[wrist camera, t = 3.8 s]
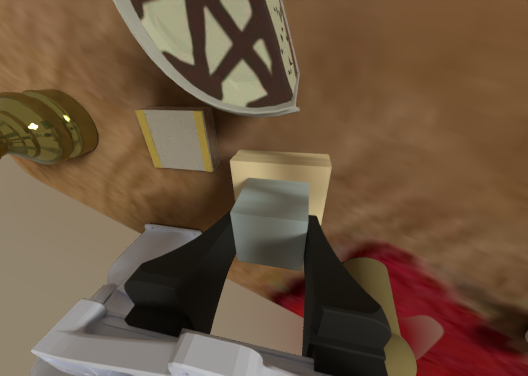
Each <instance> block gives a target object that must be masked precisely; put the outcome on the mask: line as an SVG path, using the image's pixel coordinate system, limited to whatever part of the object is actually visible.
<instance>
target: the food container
mask: <svg viewBox="0 0 528 376" xmlns="http://www.w3.org/2000/svg"><path fill="white" fill-rule="evenodd" d="M113 1H114V3H115V5H116V7H117V9H118V11H119V13H120V14H121V16H122V18H123V19H124V21H125V23H126V24H127V26H128V28H129V29H130V31H131V33H132V34H133V36H134V37H135V38H136V40H137V41H138V42H139V44H140V45H141V46H142V48H143V49H144V50H145V52H146V53H147V54H148V56H149V57H150V58H151V59H152V60H153V61H154V62H155V63H156V64H157V66H158V67H159V68H160V69H161V70H162V71H163V72H164V73H165V74H166V75H167V76H168V77H170V78H171V79H172V80H173V81H174V82H176V83H177V84H178V85H179V86H180V87H182V88H183V89H184V90H186V91H187V92H188V93H190V94H191V95H193V96H194V97H196V98H198V99H199V100H201V101H202V102H204V103H206V104H208V105H210V106H213V107H215V108H217V109H220V110H222V111H225V112H229V113H233V114H237V115H241V116H252V117H268V116H280V115H286V114H290V113H294V112H298V111H300V110H299V108H297V107H296V98H297V91H298V83H299V75H300V73H299V69H298V65H297V61H296V57H295V52H294V48H293V44H292V40H291V35H290V31H289V27H288V23H287V18H286V14H285V10H284V6H283V2H282V0H113Z"/></svg>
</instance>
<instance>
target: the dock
mask: <svg viewBox="0 0 528 376" xmlns="http://www.w3.org/2000/svg"><path fill="white" fill-rule="evenodd" d="M135 112H136V115H137V118H138V121H139V123H140V126H141V129H142V132H143V135H144V138H145V141H146V143H147V146H148V149H149V152H150V155H151V158H152V161H153V163H154V166H155V167H157V168H162V167H163V168H176V169H188V170H201V171H208V172H212V171H214V170H215V169H216V168H217V167H218V166H219V165H220V164H221V162H220V156H219V149H218V142H217V136H216V129H215V122H214V116H213V109H212V107H179V106H147V107H143V108H139V109H136V110H135Z"/></svg>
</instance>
